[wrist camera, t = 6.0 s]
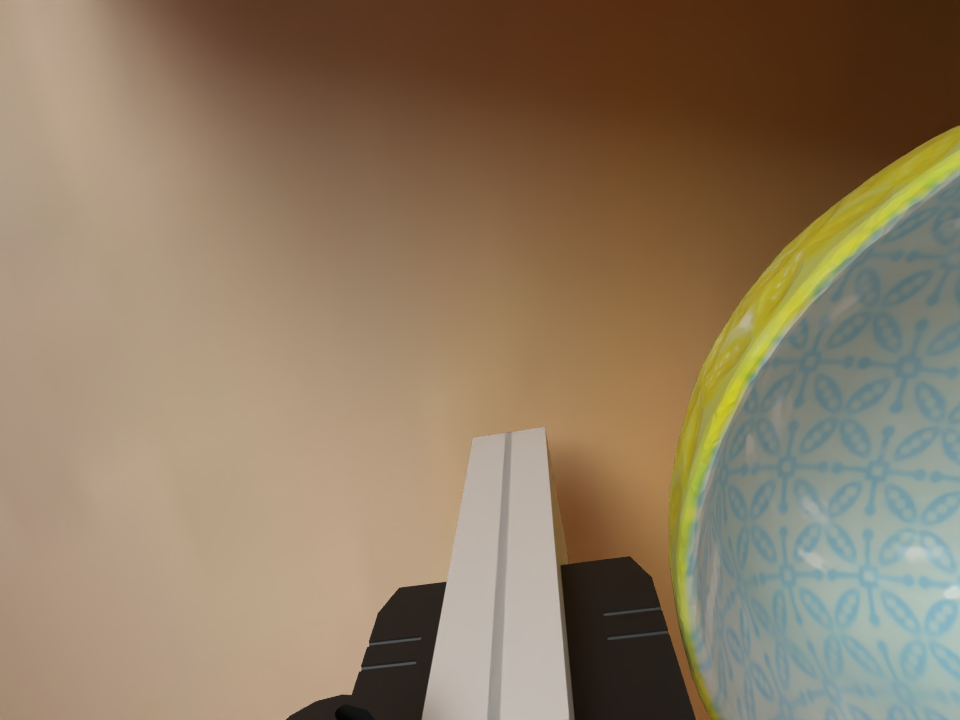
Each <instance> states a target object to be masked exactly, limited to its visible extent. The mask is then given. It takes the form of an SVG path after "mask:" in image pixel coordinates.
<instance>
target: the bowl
mask: <svg viewBox="0 0 960 720" xmlns="http://www.w3.org/2000/svg"><path fill="white" fill-rule="evenodd" d="M669 561H670V570H671V579H672V587H673V593H674V599H675V605H676V611H677V617H678V623H679V628H680V632H681V636H682V641H683V644H684V648H685V652H686V656H687V659H688V663H689V667H690V671H691V675H692V678H693V680H694V683H695V685H696V688H697V690H698V693H699V696H700V698H701V700H702V702H703V704H704V706H705V709H706V711H707V712H708V714H709V716H710V717H711V719H712V720H960V125H959V126H957V127H954V128H952V129H950V130H948V131H946V132H944V133H942V134H940V135H938V136H936V137H934V138H932V139H931V140H929V141H927V142H925V143H923V144H922V145H920V146H918V147H917V148H915V149H914V150H912V151H910V152H909V153H907V154H906V155H904V156H902V157H901V158H899V159H897V160H896V161H894V162H893V163H891V164H890V165H888V166H887V167H885V168H884V169H882V170H881V171H879V172H878V173H876V174H875V175H873V176H872V177H871V178H869V179H868V180H867V181H865V182H864V183H863V184H861V185H860V186H859V187H857V188H856V189H855V190H853V191H852V192H851V193H849V194H848V195H846V196H845V197H843V198H842V199H841V200H840V201H838V202H837V203H836V204H835V205H833V206H832V207H831V208H830V209H829V210H827V211H826V212H825V213H824V214H823V215H821V216H820V217H819V218H817V219H816V220H815V221H814V222H813V223H811V224H810V225H809V226H808V227H807V228H806V229H805V230H804V231H802V232H801V233H800V234H799V235H798V236H797V237H796V238H795V239H794V240H792V241H791V242H790V243H789V244H788V245H787V246H786V247H785V248H783V250H782V251H781V252H780V253H779V254H778V255H777V257H776V258H775V259H774V260H773V261H772V263H771V264H770V265H769V266H768V268H767V269H766V270H765V271H764V272H763V273H762V275H761V276H760V277H759V279H758V280H757V281H756V283H755V284H754V285H753V286H752V287H751V288H750V290H749V291H748V292H747V293H746V295H745V296H744V297H743V299H742V300H741V302H740V303H739V305H738V306H737V308H736V309H735V311H734V312H733V313H732V315H731V316H730V318H729V320H728V322H727V323H726V325H725V327H724V328H723V330H722V331H721V333H720V334H719V336H718V338H717V339H716V341H715V343H714V345H713V347H712V348H711V350H710V352H709V354H708V356H707V358H706V360H705V362H704V363H703V365H702V368H701V370H700V373H699V375H698V378H697V381H696V383H695V386H694V388H693V391H692V394H691V398H690V402H689V405H688V409H687V412H686V416H685V420H684V423H683V427H682V430H681V434H680V437H679V441H678V446H677V451H676V456H675V462H674V468H673V474H672V481H671V487H670V501H669Z"/></svg>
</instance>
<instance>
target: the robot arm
mask: <svg viewBox="0 0 960 720" xmlns="http://www.w3.org/2000/svg"><path fill="white" fill-rule="evenodd" d="M361 667H362V671H361V672H359V674H358V677H357V680H356V683H355V686H354V690H353V693H352V695H339V696H335V697H331V698H327V699H323V700H319V701H316V702H314V703H312V704H310V705H309V706H307V707H305V708H303V709H301V710H300V711H298V712H296V713H294V714H292V715H291V716H289V717H288V718H287V719H286V720H696V719H695V715H694V712H693V709H692V706H691V703H690V699H689V696H688V693H687V690H686V686H685V683H684V680H683V677H682V674H681V670H680V667H679V664H678V661H677V657H676V654H675V651H674V648H673V645H672V641H671V638H670V635H669V634H668V629H667V625H666V622H665V619H664V616H663V612H662V611H661V607H660V603H659V600H658V596H657V593H656V590H655V587H654V583H653V580H652V577H651V576H650V575H649V574H648V573H646V572H645V571H644V570H643V569H642V568H641V567H640V566H639V565H638V564H637V563H636V562H635V561H634V560H633V559H632V558H631V557H630V556H629V557H621V558H613V559H605V560H598V561H590V562H582V563H574V564H569V563H568V555H567V548H566V542H565V536H564V531H563V525H562V520H561V514H560V508H559V503H558V497H557V492H556V486H555V481H554V475H553V469H552V464H551V458H550V453H549V447H548V441H547V436H546V430H545V427H541V428H535V429H528V430H522V431H515V432H508V433H501V434H495V435H488V436H482V437H475V438H473V442H472V448H471V453H470V458H469V464H468V469H467V475H466V480H465V486H464V491H463V497H462V502H461V508H460V513H459V518H458V524H457V529H456V535H455V540H454V546H453V551H452V557H451V562H450V567H449V573H448V578H447V582H442V583H434V584H426V585H418V586H410V587H402V588H399V589H398V590H397V591H396V592H395V594H394V595H393V596H392V597H391V598H390V600H389V601H388V602H387V603H386V604H385V606H384V607H383V608H382V609H381V610H380V612H379V613H378V615H377V618H376V622H375V625H374V628H373V631H372V634H371V637H370V640H369V647H367V649H366V652H365V656H364V659H363V662H362V665H361Z"/></svg>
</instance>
